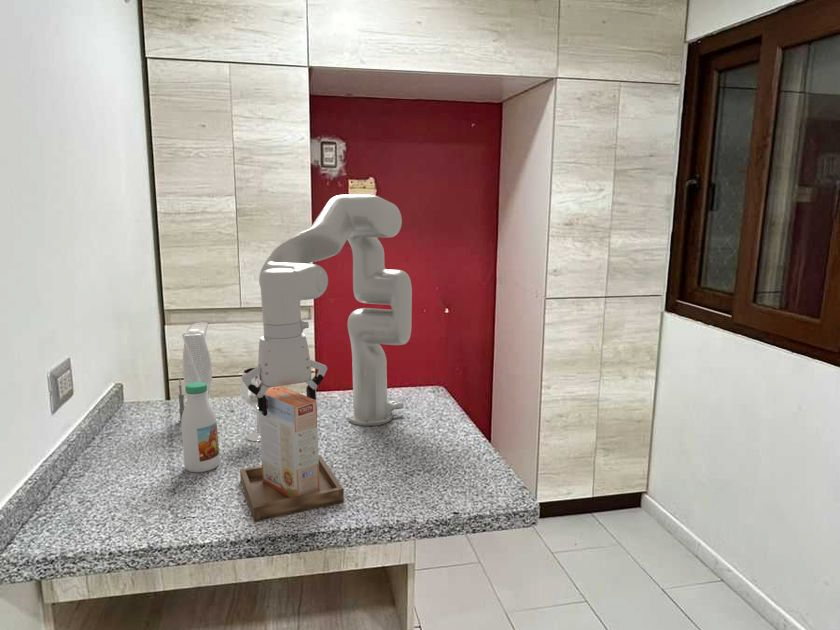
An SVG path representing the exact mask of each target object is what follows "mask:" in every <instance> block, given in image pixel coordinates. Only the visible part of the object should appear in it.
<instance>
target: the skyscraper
mask: <svg viewBox="0 0 840 630" xmlns="http://www.w3.org/2000/svg"><path fill="white" fill-rule="evenodd" d="M197 325H205V328H204V330H200V329H199V328H192V327H194V326H197ZM208 326H209V323H208V322H206V321H202V322H201V321H199V322H194V323H192V324H191V325H189V327H188V328H187V330H186V332H184V333H183V334H182V336H181V337H182V340H183V342H184V343H183V352H182V377H183V383H184V387H185V386H186V385H187V384H189V383H193V382H205V383H206V384H207V393H206V395H207V399H208V401H209V402H210V395H211V391H212V382H213V381H212V380H213V379H212V378H213V369H212V368H213V367H212V366H213V365H212V360H211V355H210V351H209V349H208V345H207V342H206V340H205V339H206V335H207V331H208ZM191 328H192V329H191ZM181 379H182V378H179V379H178V381H179V384H178V388H179V393H178V403H179V409H178V410H179V419H180V420H178V422H179V423H181V419H182V414H183V411H184V408H185V406H186V403H185V394H184V392H183V384H181V383H182V382H181V381H182V380H181Z"/></svg>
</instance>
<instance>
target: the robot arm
mask: <svg viewBox="0 0 840 630" xmlns="http://www.w3.org/2000/svg"><path fill="white" fill-rule="evenodd" d="M402 223H403V219H402V214H401V211H400V209H399V207H398V206H397V205H396V204H395V203H392V202H391V201H388V200H386V199H385V198H382V197H380V196H378V195H374V194H339V195H335V196H333V197H331V198H330V199H329V200H328V201H327V202H326V204H325V205H324V207H323V208H322V210H321V211H320V213H319V214H318V216H317V217H316V219H315V220H314V221H313V223H312V224H311V226H310V227H309V228H308V229H306V230H304V231H301V232H300V233H297V234H295V236H292V237H290V238H289V239H287V240H285V241H283V242H282V243H280V244H279V245H277V247H276V248H274V250H273V251H272V252H271V253H270V254H269V256H268V257H267V259H266V260H265V261H264V263H263V265H262V267H261V270H260V272H259V277H258V279H259V280H258V283H259V286H260V298H261V313H262V326H263V335H262V336H260V338H259V342H258V343H259V344H258V356H257V357H258V360H257V361H258V366H256V367H253V368H254V369H253V370H251V371H250V372H248V373H247V374H245V375H243V374H242V376H241V381H242V380H243V382H244V383H245V385H246V386H247V388H248V389H249V390H250V391H251V392H252V393H254V394H255V395H256V396H257V400H258V410H259V411H261V412H262V414H263V416H266V415H267V402H266V397H265V395H264V394H265V393H266V391H267V390H268V389H269V387H278V386H282V387H284V386H289V385H291V386H292V385H296V384H303V383H305V384H307V386H306V387H305V388H306V389H305V391H306V396H307V397H310V398H312V399H314V400H316V401H317V394H316V390H317V389H318V386H319V385H320V384H321V382H322V381H323V380H324V377H325V375H326V373H327V371H328V366H327V365H326V364H323V363H320V362H318V361H315V360H312V359H311V355H310V349H309V346H308V345H309V344H308V340H307V337H306V334H305V333H304V330H306V329H309V328H310V325H309V324H310V323H309V322H308V321H303V320H302V309H301V302H302V301H308V300H309V301H310V300H314V299H318V298H319V297H321V296H323V295H324V293H325V292H326V290H327V287H328V285H329V277H328V274H327V272H326V270H325V269H324V268H323V267H322V266H320V265H319V264H316V262H320V261H323V260H327V259H329V258H331V257H333V256H336V255H338V254H339V253H340V252H341V251H342V249H343V247H344V245H345V244H346V243H347V242H348V243H349V245H350V248H351V251H352V262H353V263H352V287H353V288H352V289H353V290H352V291H353V295H354V298H355V300H356V301H357V302H359V303H362V304H372V305H373V304H374V305H384V306H385V305H386V306H387V305H388V306H390V307H391V309H385V308H373V307H372V308H371V307H362V308H357V309H355V310H353V311H352V312H350V314H349V316H348V319H347V330H348V335H349V340H350V346H351V347H350V349H351V358H352V359H351V360H352V361H351V362H352V363H351V364H352V367H351V368H352V393H353V394H352V396H353V397H352V399H353V410H351V411H350V412H349V413H348V414H347V416H348V417H347V418H348V421H349V422H351V423H352V424H354V425H358V426H364V427H371V426H372V427H373V426H381V425H385V424H387V423H389V422H391V421H392V419H393V416H394V413H393V412H394V410H401V409H402V410H403V409H404V403H403V401H398V402H396V400H391V401H388V378H387V377H388V376H387V375H388V373H387V372H388V371H387V367H388V366H387V356H386V353H385V351H384V349H383V347H382V345H388V346H389V345H390V346H401V345H406V344H407V343H408V342H409V341H410V338H411V334H412V312H413V311H412V309H413V308H412V307H413V303H412V301H413V299H412V298H413V290H412V289H413V287H412V282H411V278H410V276H409V274H408V273H407V272H406V271H404V270H401V269H392V268H391V269H387V268H386V265H385V251H384V247H383V244H382V243H381V241H380V240H379V238H393V237H395V236H397V235H398V233H400V231H401V228H402ZM312 369H316V370H317V373H316V374H315V376H313V377H312ZM258 375H259V378H260V381H261V383H260V384H259V385H258V387H256V386H255V385H254V384H252V382H251V380H252V379H253V378H254V377H256V376H258Z"/></svg>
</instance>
